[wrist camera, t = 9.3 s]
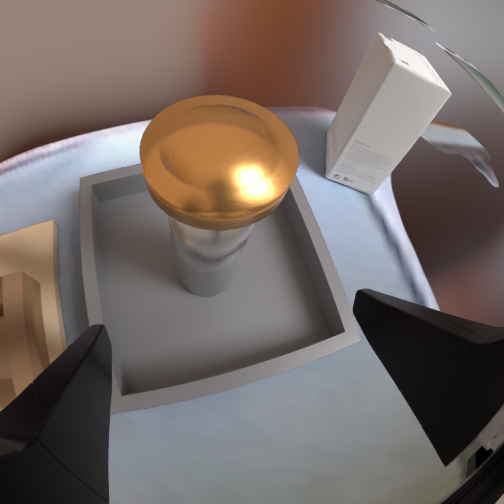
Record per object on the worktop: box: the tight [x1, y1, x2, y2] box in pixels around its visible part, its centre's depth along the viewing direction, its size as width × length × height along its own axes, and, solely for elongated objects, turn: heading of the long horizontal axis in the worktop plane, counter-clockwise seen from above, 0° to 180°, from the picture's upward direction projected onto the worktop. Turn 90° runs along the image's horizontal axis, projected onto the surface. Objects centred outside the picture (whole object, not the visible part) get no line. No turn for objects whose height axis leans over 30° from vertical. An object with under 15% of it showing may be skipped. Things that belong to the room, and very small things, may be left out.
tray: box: [79, 164, 361, 414], centre depth 20 cm, size 17×17×4 cm
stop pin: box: [140, 95, 299, 297], centre depth 14 cm, size 5×5×13 cm
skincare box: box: [325, 33, 451, 195], centre depth 23 cm, size 8×6×15 cm
